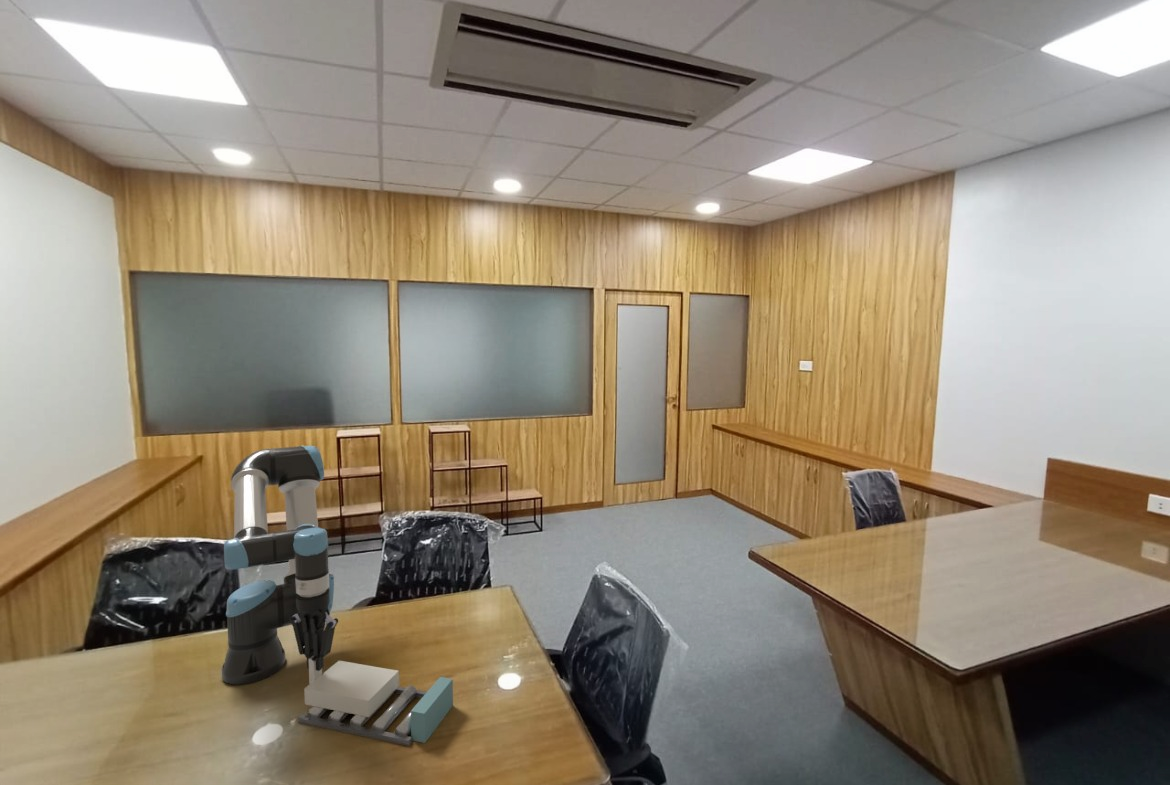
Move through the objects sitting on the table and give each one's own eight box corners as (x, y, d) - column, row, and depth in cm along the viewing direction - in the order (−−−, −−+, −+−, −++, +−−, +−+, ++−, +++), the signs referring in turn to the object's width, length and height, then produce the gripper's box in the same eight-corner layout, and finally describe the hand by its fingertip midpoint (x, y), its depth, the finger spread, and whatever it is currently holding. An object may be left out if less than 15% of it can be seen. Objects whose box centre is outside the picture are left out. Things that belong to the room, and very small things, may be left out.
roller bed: (409, 745, 117) (408, 733, 116) (298, 722, 124) (297, 710, 124) (445, 699, 132) (445, 688, 132) (345, 681, 140) (345, 670, 140)
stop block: (411, 740, 118) (410, 711, 118) (440, 703, 131) (440, 676, 130) (424, 742, 118) (424, 713, 117) (453, 705, 130) (452, 678, 130)
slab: (304, 704, 126) (304, 688, 126) (339, 674, 137) (339, 660, 137) (368, 717, 121) (368, 700, 121) (399, 685, 133) (398, 670, 133)
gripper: (279, 594, 128) (282, 686, 130) (323, 600, 125) (326, 694, 126) (302, 582, 135) (306, 668, 137) (345, 587, 132) (347, 676, 134)
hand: (315, 680), depth 132 cm, fingers closed
